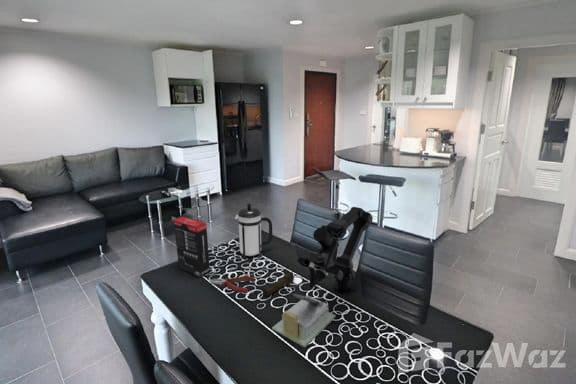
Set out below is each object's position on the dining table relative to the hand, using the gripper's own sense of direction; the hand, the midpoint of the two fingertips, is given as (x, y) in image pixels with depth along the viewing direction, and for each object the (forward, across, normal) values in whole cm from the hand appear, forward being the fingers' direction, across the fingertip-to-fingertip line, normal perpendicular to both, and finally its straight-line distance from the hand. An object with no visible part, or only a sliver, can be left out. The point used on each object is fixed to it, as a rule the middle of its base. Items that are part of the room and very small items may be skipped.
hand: (310, 287), depth 121 cm
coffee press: (-9, -58, +29) cm, 65 cm away
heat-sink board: (+12, 0, +8) cm, 14 cm away
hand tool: (+3, -24, +17) cm, 29 cm away
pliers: (+11, -43, +10) cm, 45 cm away
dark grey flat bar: (+5, 0, +1) cm, 5 cm away
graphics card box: (+14, -67, +6) cm, 69 cm away
